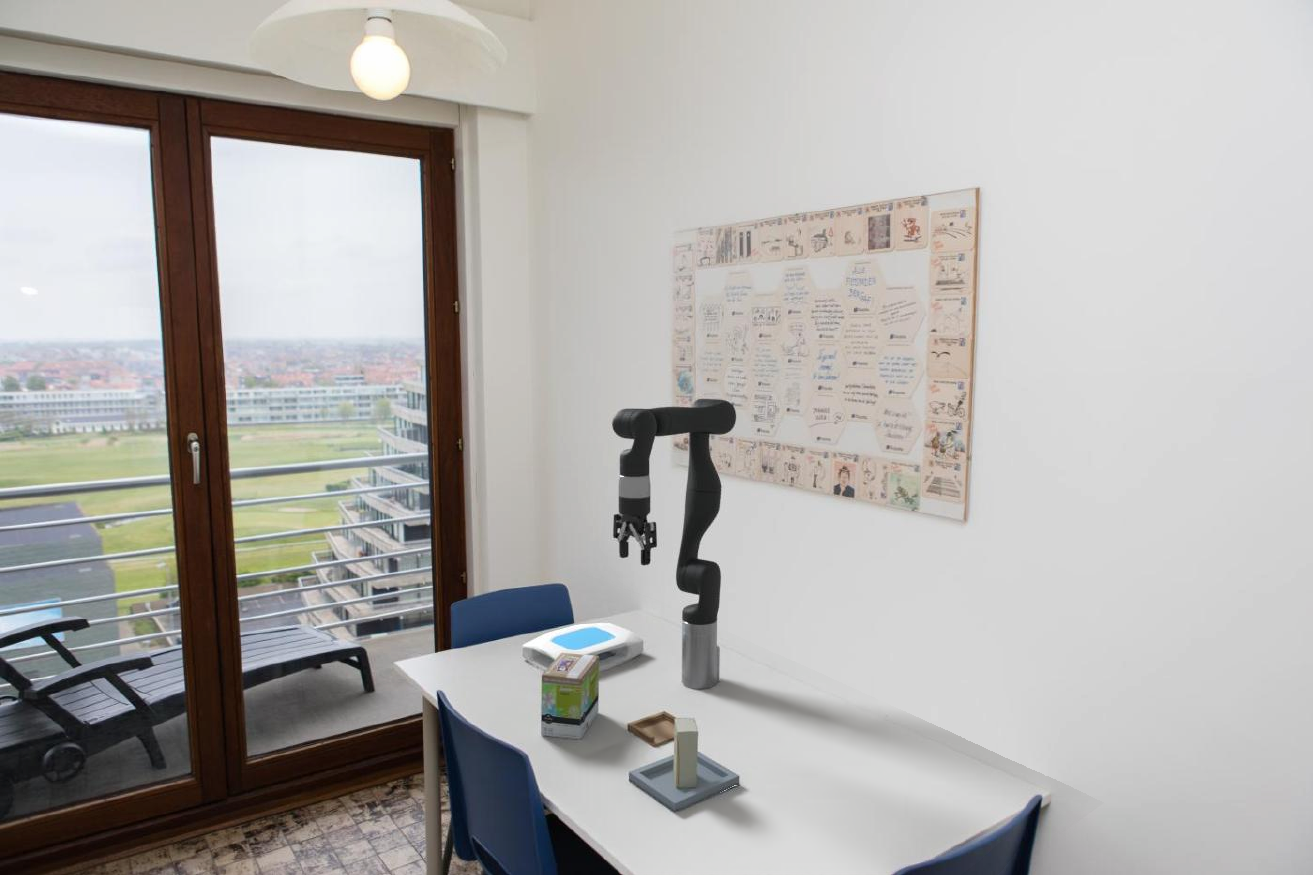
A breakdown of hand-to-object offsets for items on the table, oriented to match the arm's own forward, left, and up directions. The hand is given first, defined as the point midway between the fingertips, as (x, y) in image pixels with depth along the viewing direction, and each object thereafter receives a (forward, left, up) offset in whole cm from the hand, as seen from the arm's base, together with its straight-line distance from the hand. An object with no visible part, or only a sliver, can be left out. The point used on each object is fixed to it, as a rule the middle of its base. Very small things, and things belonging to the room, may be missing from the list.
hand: (634, 560), depth 201 cm
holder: (+1, +11, -38) cm, 40 cm away
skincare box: (+11, +32, -38) cm, 51 cm away
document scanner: (-10, -38, -39) cm, 55 cm away
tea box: (+15, -5, -38) cm, 42 cm away
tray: (+11, +32, -38) cm, 51 cm away
